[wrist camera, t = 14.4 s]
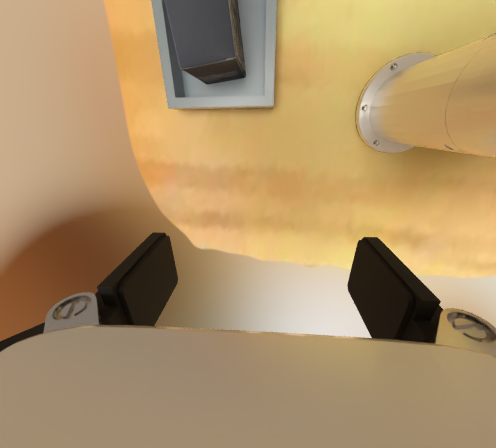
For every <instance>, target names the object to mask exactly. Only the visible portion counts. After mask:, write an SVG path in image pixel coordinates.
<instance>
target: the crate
mask: <svg viewBox="0 0 496 448" xmlns="http://www.w3.org/2000/svg"><path fill="white" fill-rule="evenodd" d="M151 1H152V7H153V14H154V20H155V27H156V33H157V39H158V46H159V52H160V58H161V65H162V71H163V78H164V84H165V90H166V97H167V103H168V108H171V109H177V110H210V109H257V108H273V106H274V77H275V47H276V16H277V0H237V1H238V10H239V17H240V27H241V36H242V44H243V53H244V61H245V71H246V77H245V78H241V79H236V80H230V81H224V82H219V83H213V84H205V83H204V82H202V81H200V80H199V79H197V78H195V77H194V76H192V75H190V74H189V73H187V72H185V71H183V70H182V69H180V66H179V62H178V57H177V53H176V49H175V44H174V40H173V35H172V31H171V26H170V22H169V18H168V13H167V9H166V5H165V0H151Z"/></svg>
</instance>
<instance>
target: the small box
mask: <svg viewBox="0 0 496 448" xmlns="http://www.w3.org/2000/svg"><path fill="white" fill-rule="evenodd" d="M165 5H166V9H167V13H168V18H169V22H170V26H171V31H172V35H173V40H174V44H175V49H176V53H177V57H178V62H179V66H180V69H182V70H183V71H185V72H187V73H189V74H190V75H192V76H194V77H195V78H197V79H199V80H200V81H202V82H204V83H205V84H213V83H219V82H224V81H230V80H236V79H241V78H245V77H246V71H245V61H244V53H243V44H242V36H241V27H240V17H239V10H238V1H237V0H165Z"/></svg>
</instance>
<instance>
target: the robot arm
mask: <svg viewBox="0 0 496 448" xmlns="http://www.w3.org/2000/svg"><path fill="white" fill-rule="evenodd" d="M390 67H392V70H391V69H390ZM362 106H363V107H364V109H363V110H362ZM356 125H357V129H358V132H359V135H360V137H361V138H362V140H363V141H364V142H365V143H366V144H367V145H368V146H369V147H371V148H373V149H374V150H377V151H380V152H385V153H398V152H404V151H407V150H409V149H412V148H414V147H416V146H418V147H425V148H432V149H438V150H445V151H451V152H458V153H465V154H471V155H478V156H485V157H495V158H496V33H495V34H492V35H490V36H487V37H484V38H482V39H479V40H477V41H474V42H472V43H469V44H467V45H464V46H461V47H459V48H456V49H454V50H451V51H449V52H446V53H444V54H441V55H439V56H436V55H433V54H430V53H423V52H417V53H410V54H407V55H404V56H401V57H398V58H396V59H395V60H393V61H391V62H389V63H388V64H386V65H385V66H383V67H382V68H381V69H380V70H379V71H378V72H377V73H375V74H374V76H373V77H372V78H371V79H370V81H369V82H368V83H367V85H366V86H365V88H364V90H363V91H362V94H361V96H360V99H359V101H358V105H357V110H356ZM374 141H375V143H374ZM373 143H374V144H373ZM177 282H178V276H177V271H176V266H175V261H174V256H173V251H172V246H171V241H170V237H169V236H167V235H166V234H165V233H152V234H151V235H150V236H149V237H148V238H147V239H146V240H145V241H144V242H143V243H141V244H140V246H138V247H137V248H136V249H135V250H134V251H133V252H132V253H131V254H130V255H129V256H128V257H127V258H126V259H125V260H124V261H123V262H122V263H121V264H120V265H119V266H118V267H117V268H116V269H115V270H114V271H113V272H112V273H111V274H110V275H109V276H108V277H107V278H106V279H105V280H104V281H103V282H101V283H100V285H98V286H97V288H98V292H97V293H96V294H95V295H94V294H92V293H87V292H86V293H79V294H76V295H72V296H70V297H67V298H65V299H64V300H62V301H60V302H58V303H57V304H56V305H55V306H53V307H52V308H51V310H50V311H49V312H48V314H47V316H46V322H45V323H42V324H40V325H38V326H35V327H33V328H31V329H28V330H26V331H24V332H21V333H19V334H17V335H14V336H12V337H10V338H7V339H5V340H3V341H1V342H0V448H496V328H495V327H494V326H493V325H491V324H490V323H489V322H487V321H485V320H484V319H482V318H480V317H479V316H476V315H474V314H472V313H470V312H466V311H464V310H459V309H454V308H452V309H451V308H450V309H445V310H443V309H442V308H441V307H440V306H439V304H440V302H441V301H440V300H439V299H438V298H437V297H436V296H435V295H434V294H433V293H432V292H431V291H430V290H429V289H428V288H427V287H426V286H425V285H424V284H423V283H422V282H421V281H420V280H419V279H418V278H417V277H416V276H415V275H414V274H413V273H412V272H411V271H410V270H409V269H408V268H407V267H406V266H405V265H404V264H403V263H402V262H401V261H400V260H399V258H398V257H397V256H396V255H395V254H394V253H393V252H392V251H391V250H390V249H389V248H388V247H387V246H386V245H385V244H384V243H383V242H382V241H381V240H380V239H379V238H377V237H364V238H363V239H362V240H359V241H358V244H357V248H356V252H355V256H354V260H353V264H352V268H351V273H350V277H349V281H348V291H349V293H350V295H351V297H352V299H353V301H354V303H355V305H356V307H357V309H358V311H359V313H360V315H361V317H362V319H363V321H364V323H365V325H366V327H367V329H368V331H369V333H370V335H371V337H372V338H361V337H343V336H328V335H310V334H293V333H274V332H258V331H257V332H256V331H238V330H219V329H199V328H179V327H158V326H154V325H155V323H156V322H157V320H158V318H159V316H160V314H161V312H162V311H163V309H164V307H165V305H166V303H167V301H168V300H169V298H170V296H171V294H172V292H173V290H174V289H175V287H176V285H177Z"/></svg>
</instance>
